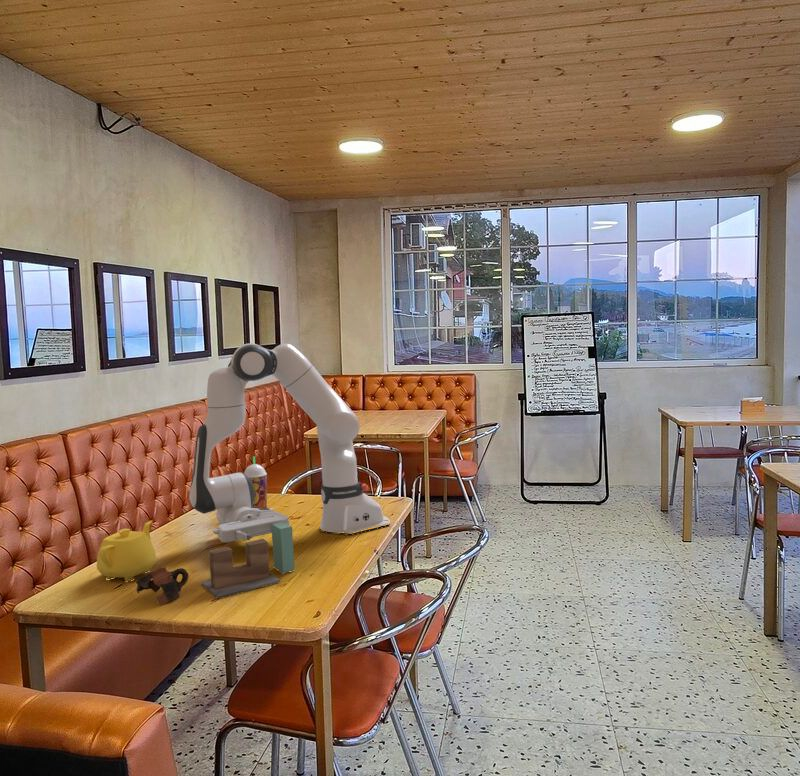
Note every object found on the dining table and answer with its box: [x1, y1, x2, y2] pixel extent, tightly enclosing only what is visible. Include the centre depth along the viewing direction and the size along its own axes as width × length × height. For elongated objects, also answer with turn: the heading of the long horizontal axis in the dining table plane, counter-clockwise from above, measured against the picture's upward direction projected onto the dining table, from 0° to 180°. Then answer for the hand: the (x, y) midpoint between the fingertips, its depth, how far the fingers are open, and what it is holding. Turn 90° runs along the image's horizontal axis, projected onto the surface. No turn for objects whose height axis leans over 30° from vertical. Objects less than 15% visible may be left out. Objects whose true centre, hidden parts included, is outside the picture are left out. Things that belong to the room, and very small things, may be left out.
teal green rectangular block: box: [271, 522, 295, 574], centre depth 171 cm, size 6×3×12 cm, turn 34°
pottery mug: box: [135, 566, 189, 606], centre depth 157 cm, size 12×10×8 cm
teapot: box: [96, 520, 157, 582], centre depth 173 cm, size 13×20×12 cm
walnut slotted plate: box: [201, 538, 281, 599], centre depth 163 cm, size 12×16×10 cm
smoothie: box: [243, 456, 268, 509], centre depth 230 cm, size 8×8×20 cm
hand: (263, 534), depth 181 cm, fingers open, 8 cm apart
